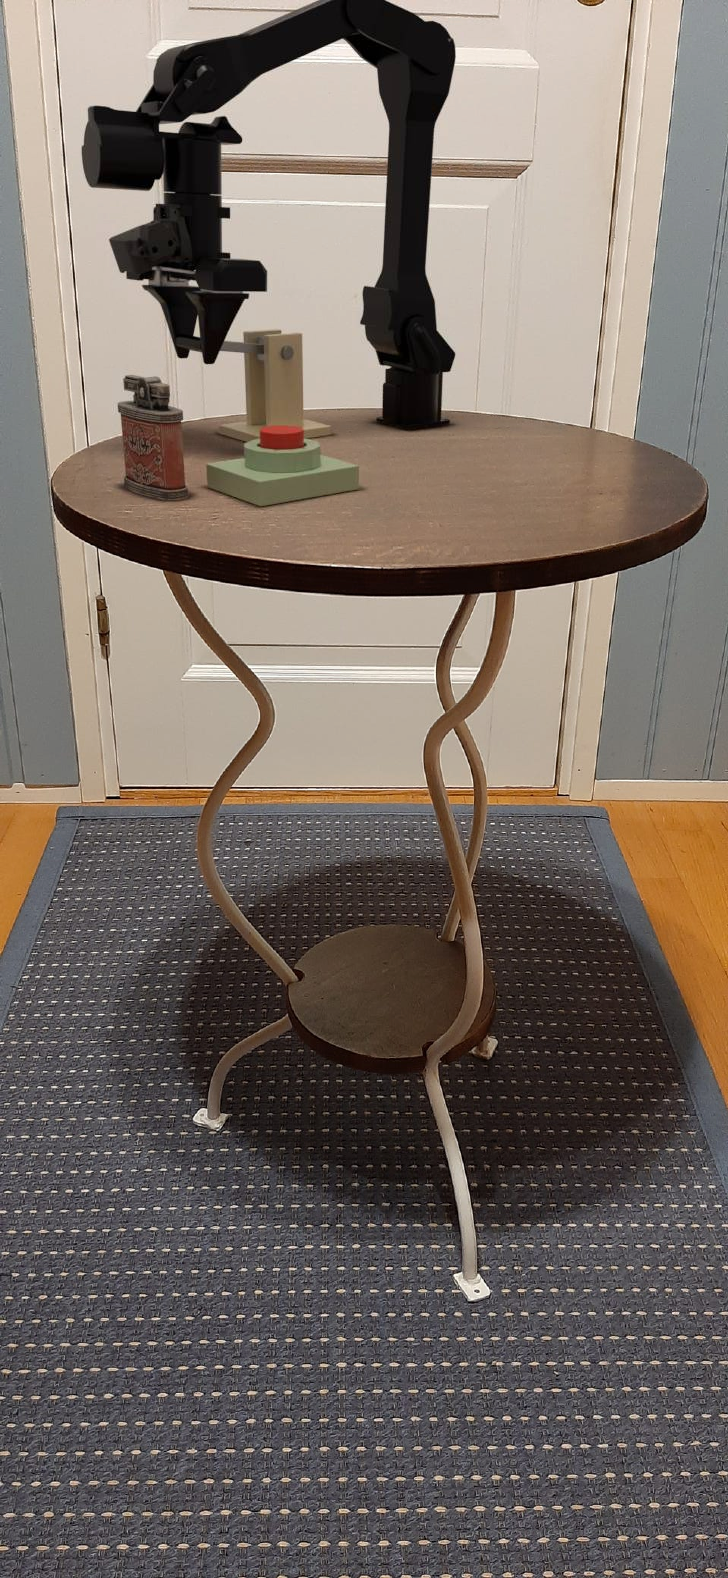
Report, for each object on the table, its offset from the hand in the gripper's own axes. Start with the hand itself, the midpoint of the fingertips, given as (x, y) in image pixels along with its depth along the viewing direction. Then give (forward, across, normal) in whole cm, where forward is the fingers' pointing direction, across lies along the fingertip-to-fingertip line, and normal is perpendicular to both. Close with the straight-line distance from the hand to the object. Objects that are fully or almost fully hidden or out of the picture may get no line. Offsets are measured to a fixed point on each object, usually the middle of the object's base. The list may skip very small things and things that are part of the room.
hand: (195, 361), depth 121 cm
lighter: (+9, +16, -14) cm, 23 cm away
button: (+5, +22, -4) cm, 23 cm away
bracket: (+8, 0, +10) cm, 13 cm away
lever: (0, 0, +5) cm, 5 cm away
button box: (+9, +22, -4) cm, 24 cm away
